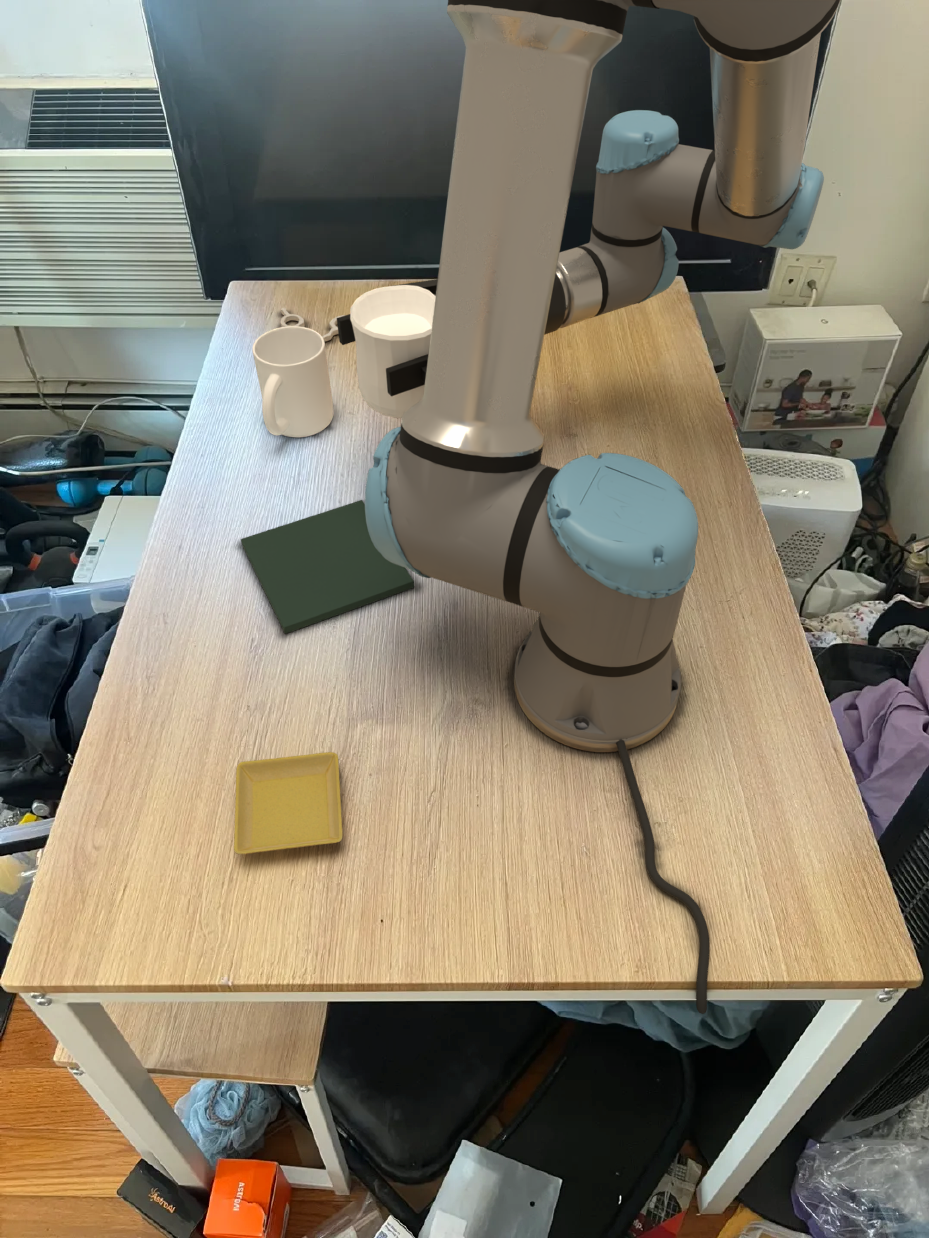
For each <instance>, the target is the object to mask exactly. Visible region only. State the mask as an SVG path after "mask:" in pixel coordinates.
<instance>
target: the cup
mask: <svg viewBox="0 0 929 1238" xmlns="http://www.w3.org/2000/svg"><path fill="white" fill-rule="evenodd" d="M397 285H398V286H393V285H388V286H382V287H376V288H373V289H371V290H368V291H366V292H363V293H362V294H361V295H359V297H356V299H355V300H354V302H353V303H352V305H351V306H350V309H349V311H350V313H349V314H350V320H351V322H352V326H353V330H354V335H355V341H354V342H355V353H356V354H355V355H356V357H355V358H356V376H357V385H358V390H359V392H360V395H361V397H362V399H363V401H364V402H365V404H367V405H368V406H369V407H370V408H371V409H372V410H373V411H374V412H376V413H379V414H380V415H382V416H384V417H390V418H393V419H398V420H399V419H402V415H403V414H404V412H406V411H407V410H408V409H410V408H411V407H412V406H414V405H415V404H416V403H418V402H419V401H420V400H422V398H423V396H424V388H425V385H423V386H420V387H417V388H414V389H411V390H409V391H406V392H403V393H400V394H397V395H394V396H390V395H389V394H388V391H387V378H386V368H389V367H392V366H395V365H398V364H401V363H403V362H406V361H409V360H412V359H415V358H418V357H421V356H424V355H427V354H429V347H430V338H431V330H432V322H433V314H434V305H435V297H436V296H435V295H434V294H432V293H431V292H430V291H429V290H427V289H424V288H421V287H419V286H411V285H400V284H397Z"/></svg>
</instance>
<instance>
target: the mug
mask: <svg viewBox="0 0 929 1238" xmlns="http://www.w3.org/2000/svg"><path fill="white" fill-rule="evenodd" d="M322 336H323V335H322V334H320V333H319V332H317V331H316V330H314V329H312V328H309V327H305V326H304V327H299V326H294V325H290V326H288V327H281V326H280V327H277V328H272V329H271V330H268V331H266V332H264V333H263V334H260V335H259V336H258V337H257V338H256V339H255V340H254V342H253V344H252V348H251V349H252V350H251V351H252V355H253V360H254V365H255V369H256V374H257V379H258V385H259V389H260V395H261V401H262V403H261V409H262V411H261V412H262V418H263V422H264V425H265V427H266V429H267V431H268V432H269V433H270V434H271V435H273V436H285V437H289V438H306V437H310V436H311V437H312V436H314V435H316V434H319V433H320V432H322V431H324V430H325V429H326V428H327V427H328V426H329V425H330V424H331V422H332V421H333V418H334V411H335V410H334V401H333V394H332V388H331V387H332V386H331V379H330V373H329V364H328V357H327V350H326V343H325V342H326V341H325V342H324V339H323V338H322Z"/></svg>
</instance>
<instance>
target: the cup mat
mask: <svg viewBox="0 0 929 1238" xmlns="http://www.w3.org/2000/svg"><path fill="white" fill-rule="evenodd" d="M240 543H241V546H242V549H243V550H244V552H245V554H246V556H247V559H248V561H249V562H250V565H251V567H252V569H253V571H254V573H255V575H256V578H257V579H258V582H259V584H260V585H261V587H262V590H263V592H264V594H265V596H266V598H267V600H268V602H269V604H270V606H271V608H272V610H273V612H274V614H275V616H276V618H277V621H278V623H279V625H280V626H281V629H282V631H283V633H284V634H289V633H291V632H292V633H293V632H295V631H297V630H300V629H302V628H305V627H309V626H311V625H313V624H316V623H320V622H322V621H325V620H328V619H330V618H333V617H336V616H339V615H341V614H345V613H347V612H350V611H353V610H355V609H358V608H361V607H363V606H367V605H369V604H372V603H375V602H378V601H381V600H383V599H386V598H388V597H391V596H394V595H397V594H400V593H403V592H406V591H408V590H411V589H413V588H415V582H414V579H413V578H412V576H411V574H410V573H409V571H408V570H407V568H404V567H402V566H399V565H396V564H394V563H392V562H390V561H388V560H387V559H385V558H384V557H383V556H382V554H381V553H380V552H379V551H378V550H377V549H376V548H375V546H374V544H373V542H372V540H371V538H370V535H369V532H368V528H367V523H366V516H365V501H363V500H362V499H359V500H357V501H354V502H350V503H348V504H344V505H341V506H339V507H334V508H332V509H329V510H326V511H323V512H319V513H316V514H313V515H310V516H308V517H304V518H301V519H298V520H295V521H291V522H289V523H286V524H283V525H280V526H277V527H273V528H271V529H268V530H267V529H266V530H264V531H260V532H258V533H255V534H252V535H249V536H246V537H243V538H241V539H240Z"/></svg>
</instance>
